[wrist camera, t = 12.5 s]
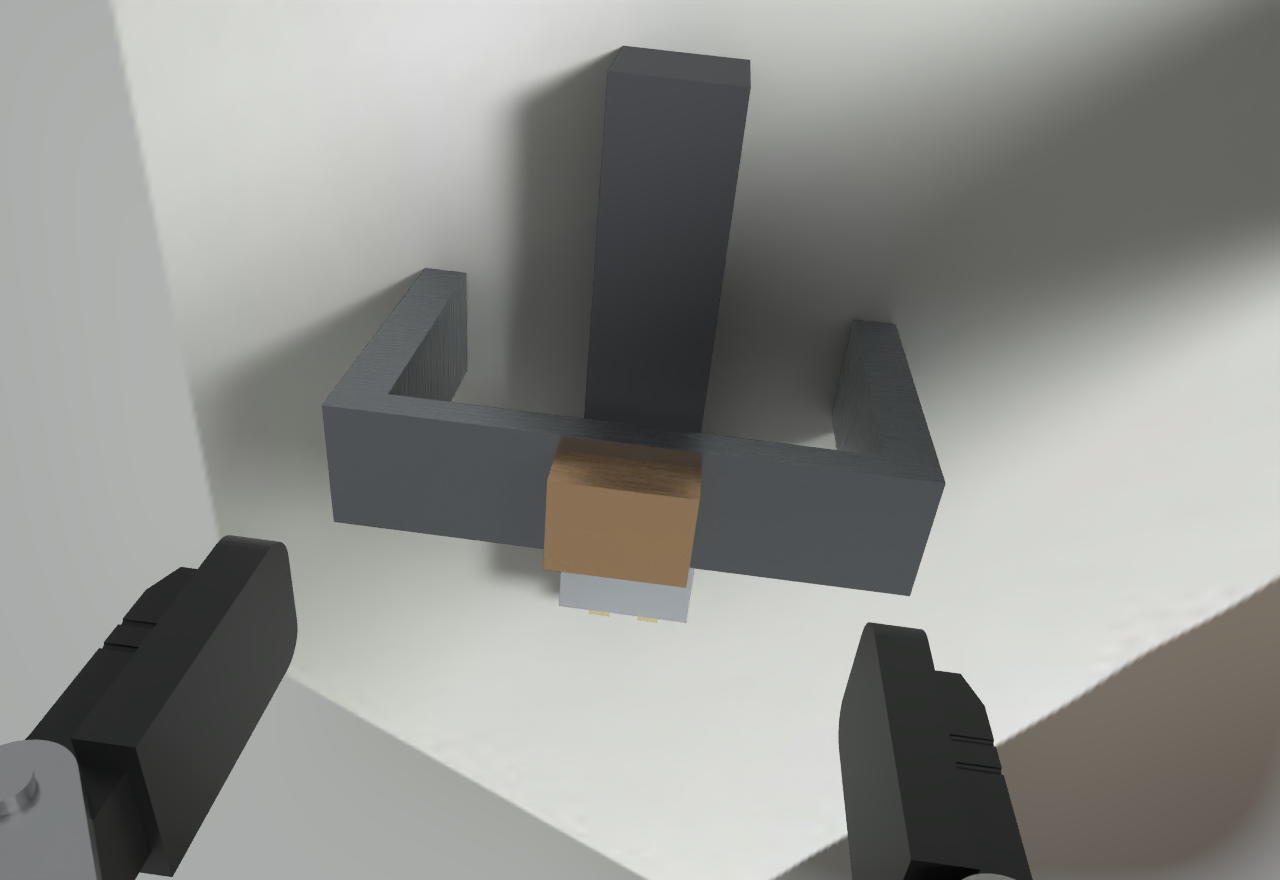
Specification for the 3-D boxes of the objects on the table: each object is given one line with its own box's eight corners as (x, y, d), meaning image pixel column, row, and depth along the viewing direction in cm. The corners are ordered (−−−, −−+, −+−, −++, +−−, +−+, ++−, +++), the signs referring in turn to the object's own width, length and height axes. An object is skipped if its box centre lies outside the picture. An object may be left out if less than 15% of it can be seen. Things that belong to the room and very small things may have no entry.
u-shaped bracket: (895, 324, 34) (955, 516, 24) (871, 420, 36) (917, 632, 27) (425, 268, 35) (300, 433, 25) (428, 365, 37) (314, 553, 27)
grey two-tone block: (765, 61, 30) (768, 89, 27) (686, 584, 41) (681, 650, 38) (607, 43, 30) (589, 69, 27) (572, 569, 42) (557, 634, 38)
